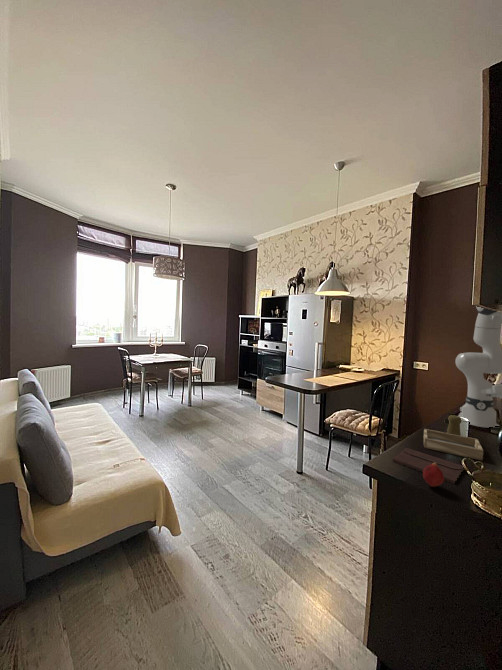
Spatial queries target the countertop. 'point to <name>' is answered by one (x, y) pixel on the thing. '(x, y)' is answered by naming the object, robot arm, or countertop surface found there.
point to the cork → (454, 425)
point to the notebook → (429, 463)
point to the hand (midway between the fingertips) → (483, 393)
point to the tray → (453, 444)
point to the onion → (433, 475)
